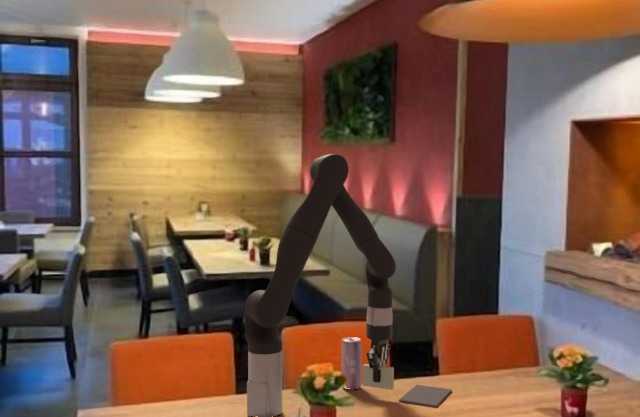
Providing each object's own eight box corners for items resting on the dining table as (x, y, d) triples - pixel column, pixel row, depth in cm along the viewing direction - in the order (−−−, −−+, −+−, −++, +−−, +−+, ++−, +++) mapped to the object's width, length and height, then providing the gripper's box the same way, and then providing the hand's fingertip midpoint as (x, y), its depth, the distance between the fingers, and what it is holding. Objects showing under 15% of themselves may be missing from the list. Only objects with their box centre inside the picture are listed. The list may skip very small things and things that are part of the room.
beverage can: (361, 385, 207) (361, 337, 206) (360, 391, 201) (360, 341, 200) (342, 384, 207) (342, 336, 207) (341, 390, 201) (341, 341, 201)
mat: (436, 407, 186) (436, 405, 186) (399, 401, 191) (399, 399, 191) (451, 391, 200) (451, 389, 200) (416, 386, 205) (416, 384, 205)
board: (391, 389, 191) (391, 368, 191) (362, 385, 195) (362, 365, 195) (393, 388, 193) (393, 367, 193) (365, 384, 197) (365, 363, 197)
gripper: (376, 316, 201) (374, 373, 202) (358, 324, 189) (356, 385, 190) (399, 319, 198) (398, 377, 199) (382, 327, 186) (381, 389, 186)
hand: (378, 381), depth 194 cm, fingers closed on board, 1 cm apart
